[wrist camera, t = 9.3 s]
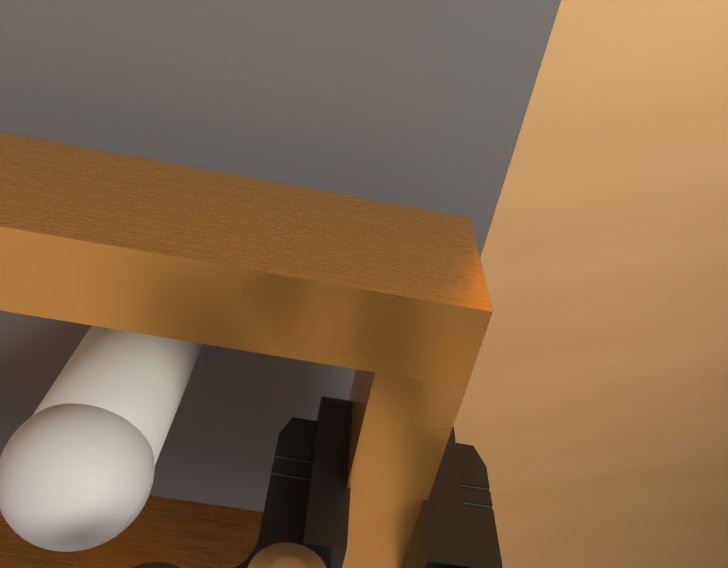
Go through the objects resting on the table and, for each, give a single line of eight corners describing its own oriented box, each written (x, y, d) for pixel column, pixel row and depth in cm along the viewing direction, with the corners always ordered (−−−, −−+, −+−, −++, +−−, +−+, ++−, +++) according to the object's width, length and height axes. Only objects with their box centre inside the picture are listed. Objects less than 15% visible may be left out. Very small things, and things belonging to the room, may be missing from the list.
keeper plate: (587, -155, 12) (807, -190, 6) (386, 514, 21) (385, 781, 15) (-240, -340, 11) (-1079, -626, 5) (-69, 447, 20) (-273, 702, 14)
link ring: (470, 218, 12) (492, 311, 9) (367, 564, 17) (363, 685, 15) (-232, 89, 11) (-418, 154, 9) (-116, 494, 16) (-210, 609, 14)
